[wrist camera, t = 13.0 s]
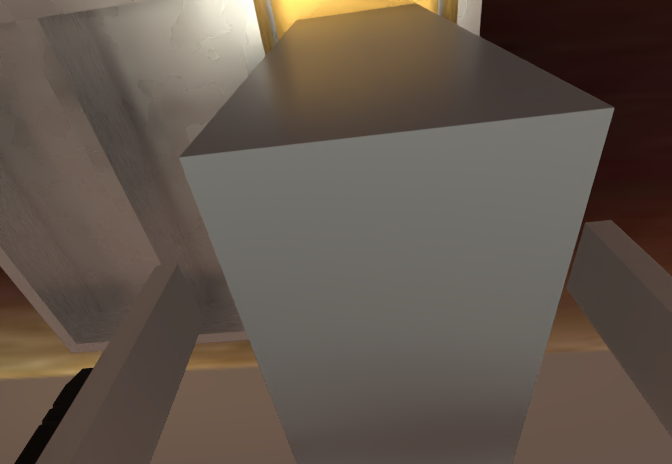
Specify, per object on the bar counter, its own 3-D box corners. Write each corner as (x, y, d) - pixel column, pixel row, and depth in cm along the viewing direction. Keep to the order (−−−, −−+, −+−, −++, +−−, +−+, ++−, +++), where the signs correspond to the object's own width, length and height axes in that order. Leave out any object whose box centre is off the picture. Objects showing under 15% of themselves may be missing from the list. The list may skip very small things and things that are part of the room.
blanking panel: (337, 272, 24) (331, 553, 13) (296, 20, 16) (178, 157, 5) (417, 265, 24) (487, 549, 12) (416, 3, 16) (614, 108, 4)
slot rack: (100, 312, 27) (69, 356, 24) (-104, 15, 17) (-202, 27, 14) (449, 283, 25) (463, 327, 22) (467, -78, 15) (500, -89, 12)
